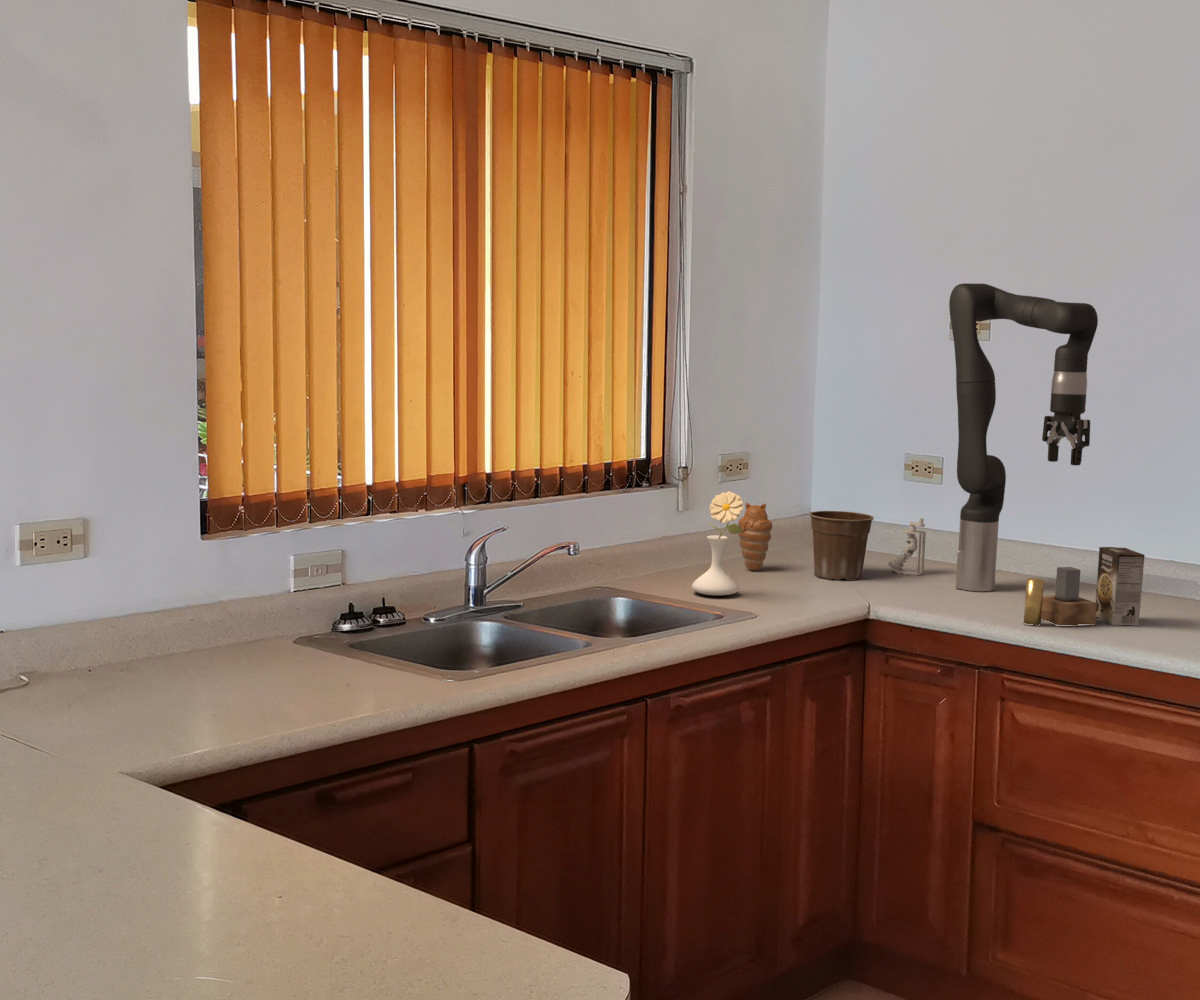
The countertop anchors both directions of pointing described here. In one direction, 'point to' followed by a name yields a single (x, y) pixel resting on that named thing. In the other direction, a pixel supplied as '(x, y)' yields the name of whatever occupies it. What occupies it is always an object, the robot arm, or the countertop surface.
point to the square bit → (1067, 584)
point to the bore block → (1068, 611)
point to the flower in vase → (720, 547)
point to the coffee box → (1119, 585)
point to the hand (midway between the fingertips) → (1063, 463)
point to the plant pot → (839, 543)
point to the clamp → (911, 549)
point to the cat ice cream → (754, 535)
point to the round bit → (1033, 601)
